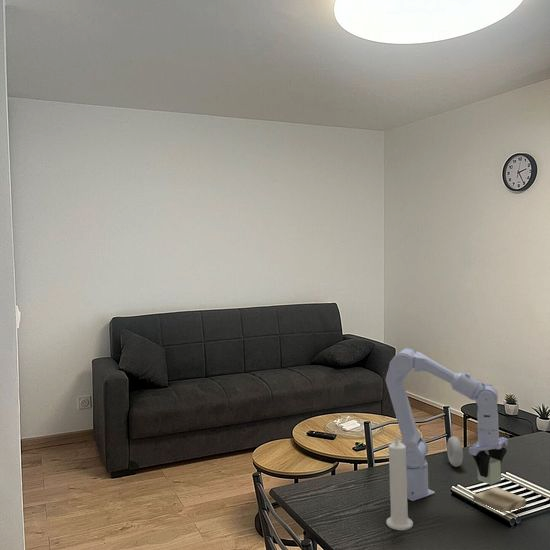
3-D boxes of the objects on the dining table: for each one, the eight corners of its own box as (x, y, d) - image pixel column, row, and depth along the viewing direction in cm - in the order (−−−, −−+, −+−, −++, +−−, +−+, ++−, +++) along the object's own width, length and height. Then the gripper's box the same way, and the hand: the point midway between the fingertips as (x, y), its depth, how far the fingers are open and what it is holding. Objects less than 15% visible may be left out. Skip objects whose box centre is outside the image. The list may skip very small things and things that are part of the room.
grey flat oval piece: (464, 471, 190) (464, 441, 190) (454, 471, 191) (453, 442, 190) (455, 460, 200) (455, 432, 200) (446, 460, 201) (445, 432, 200)
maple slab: (502, 518, 158) (502, 507, 158) (473, 505, 167) (473, 495, 167) (525, 508, 163) (525, 498, 163) (496, 496, 172) (496, 486, 172)
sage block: (490, 484, 163) (490, 464, 163) (477, 479, 167) (477, 459, 167) (501, 480, 166) (500, 460, 166) (488, 476, 170) (487, 456, 169)
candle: (394, 515, 161) (391, 428, 160) (417, 522, 156) (414, 432, 155) (381, 525, 156) (378, 435, 154) (405, 533, 151) (402, 440, 150)
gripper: (482, 436, 159) (484, 484, 159) (516, 426, 166) (517, 472, 167) (462, 430, 165) (464, 476, 165) (495, 420, 172) (497, 465, 173)
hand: (489, 474), depth 166 cm, fingers closed on sage block, 4 cm apart
